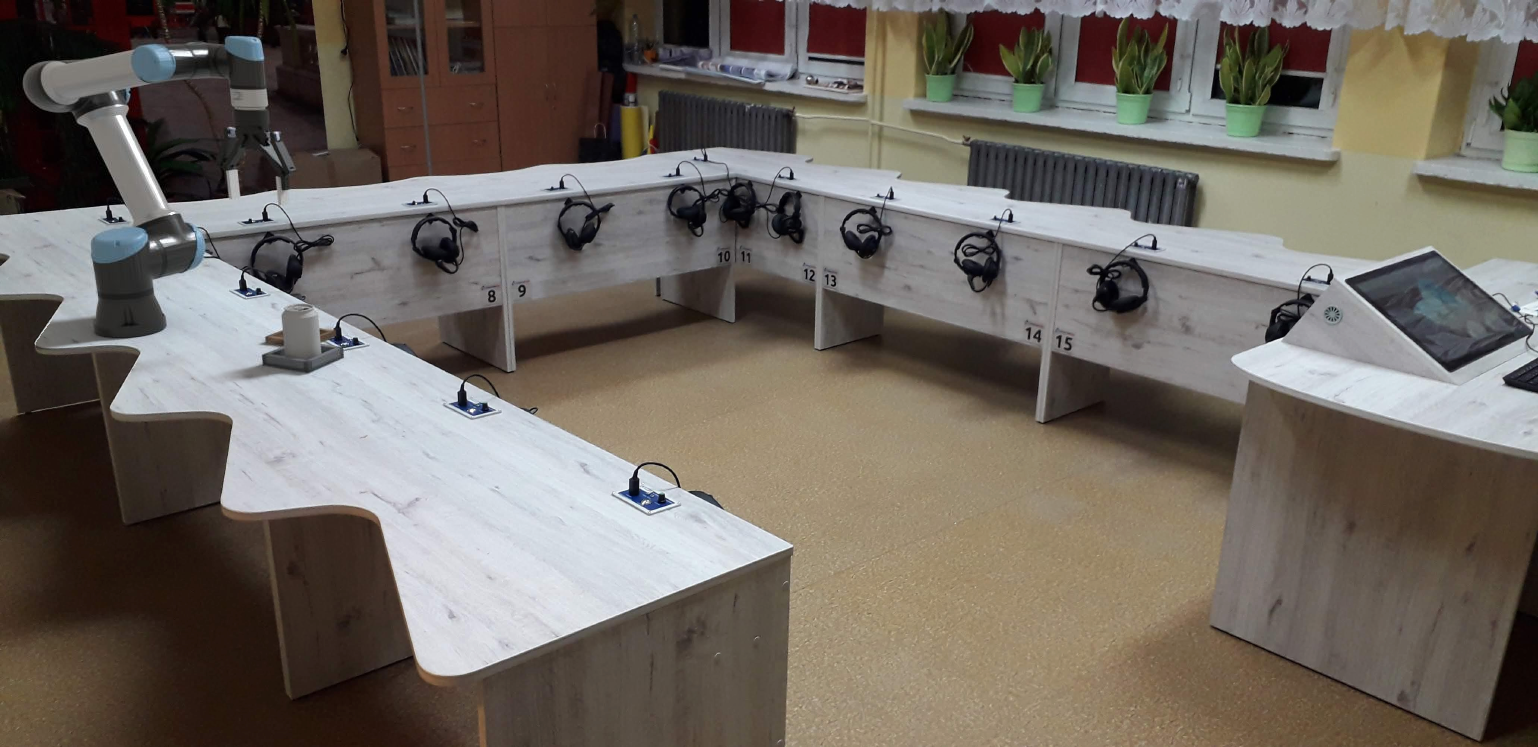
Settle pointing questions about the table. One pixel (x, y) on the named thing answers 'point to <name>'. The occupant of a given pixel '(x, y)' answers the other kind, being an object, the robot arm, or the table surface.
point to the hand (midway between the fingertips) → (259, 201)
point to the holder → (279, 339)
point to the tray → (302, 365)
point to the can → (301, 331)
